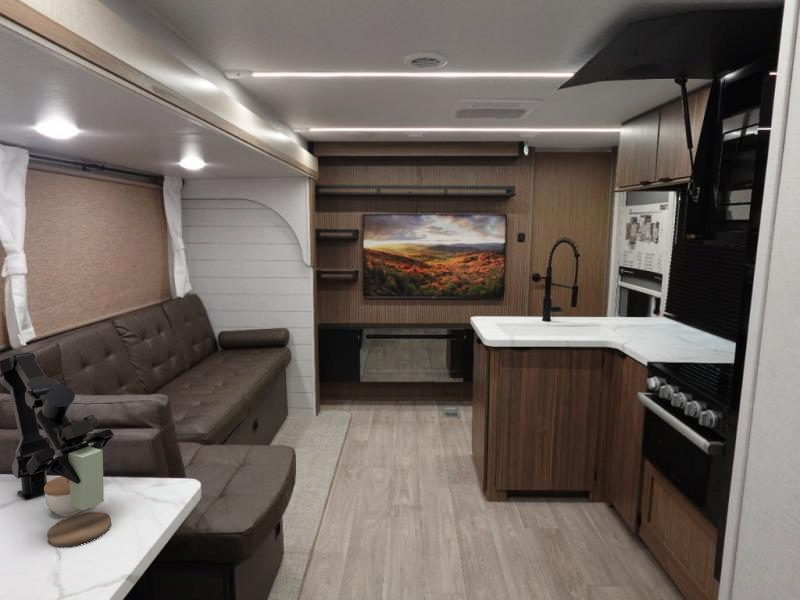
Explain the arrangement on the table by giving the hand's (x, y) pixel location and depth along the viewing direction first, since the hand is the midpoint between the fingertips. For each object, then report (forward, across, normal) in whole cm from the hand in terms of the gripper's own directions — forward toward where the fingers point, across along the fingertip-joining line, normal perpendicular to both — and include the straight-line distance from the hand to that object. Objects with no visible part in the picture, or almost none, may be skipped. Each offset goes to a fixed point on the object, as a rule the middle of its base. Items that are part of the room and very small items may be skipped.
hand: (90, 478), depth 121 cm
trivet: (+8, -2, +10) cm, 13 cm away
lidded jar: (0, +4, +19) cm, 20 cm away
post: (+4, 0, +6) cm, 7 cm away
